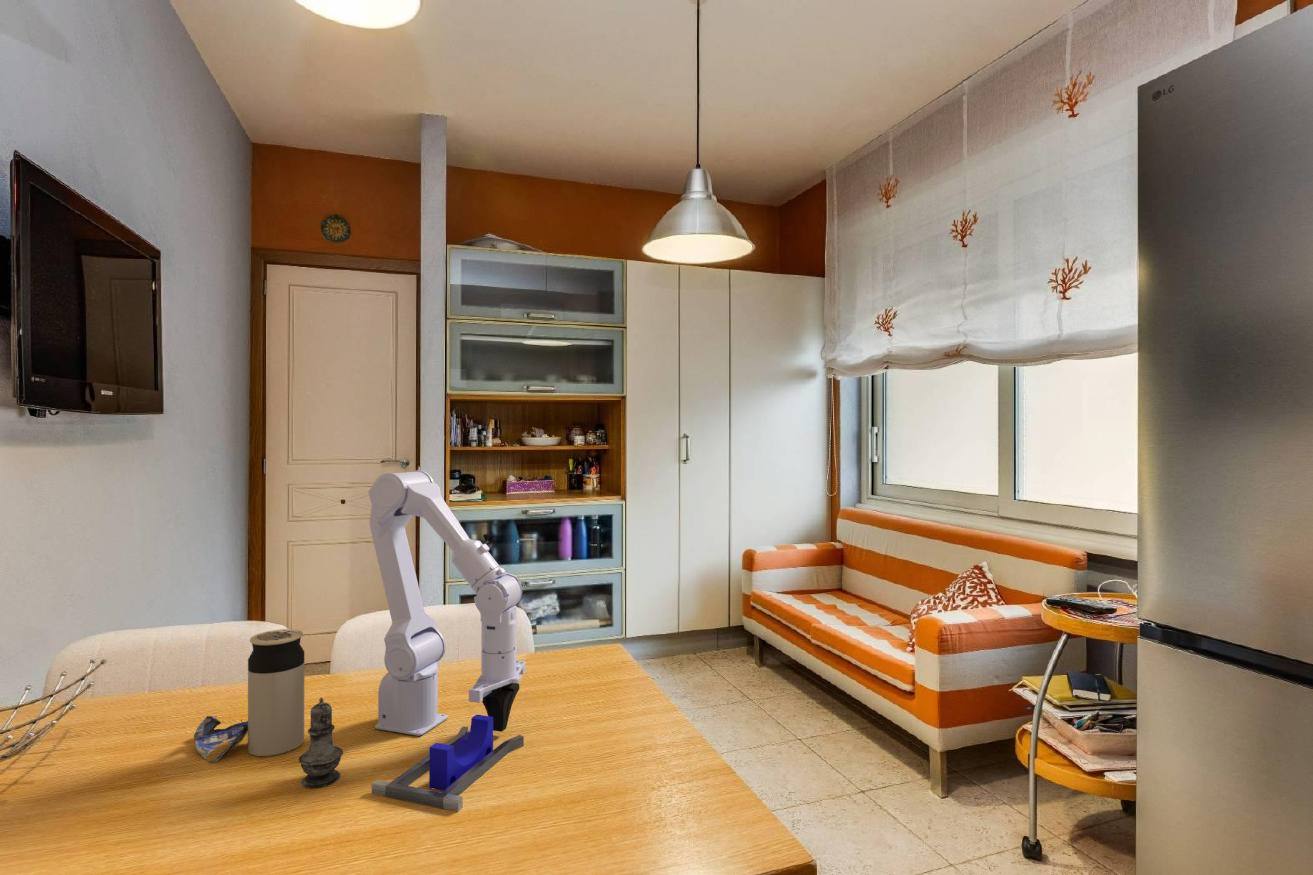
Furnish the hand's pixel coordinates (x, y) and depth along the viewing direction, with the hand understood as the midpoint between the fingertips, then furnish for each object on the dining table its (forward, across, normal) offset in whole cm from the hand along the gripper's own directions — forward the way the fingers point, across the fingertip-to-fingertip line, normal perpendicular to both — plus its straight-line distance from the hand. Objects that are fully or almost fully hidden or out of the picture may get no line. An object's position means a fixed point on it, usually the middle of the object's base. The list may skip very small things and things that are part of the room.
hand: (498, 729), depth 113 cm
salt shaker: (+1, -21, +17) cm, 27 cm away
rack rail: (+1, -12, 0) cm, 12 cm away
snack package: (+2, -17, +41) cm, 44 cm away
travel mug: (+1, -15, +32) cm, 35 cm away
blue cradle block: (+1, -12, 0) cm, 12 cm away
